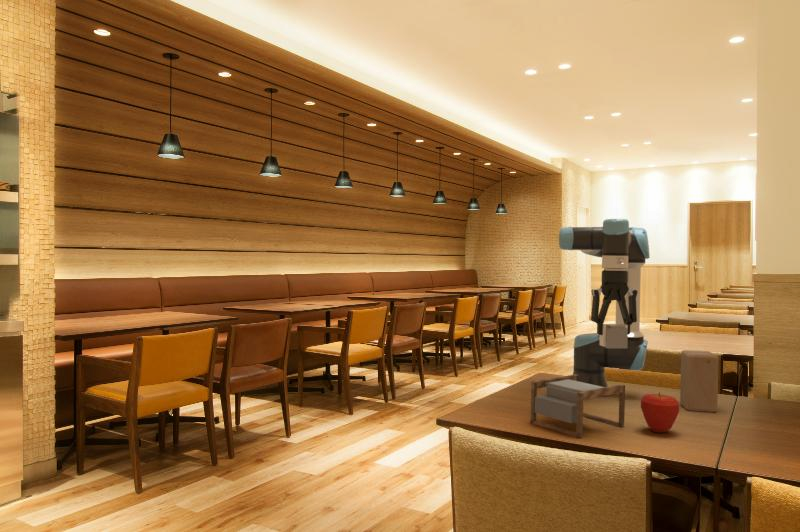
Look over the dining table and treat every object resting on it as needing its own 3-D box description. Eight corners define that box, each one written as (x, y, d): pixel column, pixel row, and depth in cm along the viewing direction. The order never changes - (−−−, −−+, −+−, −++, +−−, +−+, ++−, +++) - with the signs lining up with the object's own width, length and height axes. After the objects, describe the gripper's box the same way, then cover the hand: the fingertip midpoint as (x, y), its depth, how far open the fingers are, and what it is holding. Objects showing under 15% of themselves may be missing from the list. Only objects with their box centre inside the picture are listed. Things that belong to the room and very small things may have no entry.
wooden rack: (579, 438, 170) (580, 393, 170) (530, 422, 185) (531, 381, 185) (624, 426, 183) (625, 384, 183) (574, 413, 198) (575, 374, 198)
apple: (659, 438, 171) (660, 397, 171) (631, 428, 181) (632, 389, 181) (687, 434, 175) (688, 394, 175) (658, 425, 185) (659, 387, 185)
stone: (607, 348, 175) (608, 326, 174) (599, 345, 181) (600, 323, 180) (627, 348, 175) (627, 326, 175) (618, 345, 181) (618, 323, 181)
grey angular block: (573, 423, 171) (574, 394, 170) (532, 411, 183) (533, 384, 183) (608, 415, 180) (609, 387, 180) (567, 404, 193) (568, 378, 193)
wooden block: (718, 413, 201) (719, 355, 201) (687, 411, 203) (688, 354, 203) (708, 406, 211) (710, 351, 211) (679, 404, 213) (680, 349, 213)
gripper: (589, 269, 173) (587, 347, 173) (651, 270, 174) (649, 347, 175) (579, 269, 180) (578, 343, 181) (639, 269, 182) (637, 343, 182)
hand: (613, 345), depth 178 cm, fingers closed on stone, 6 cm apart
